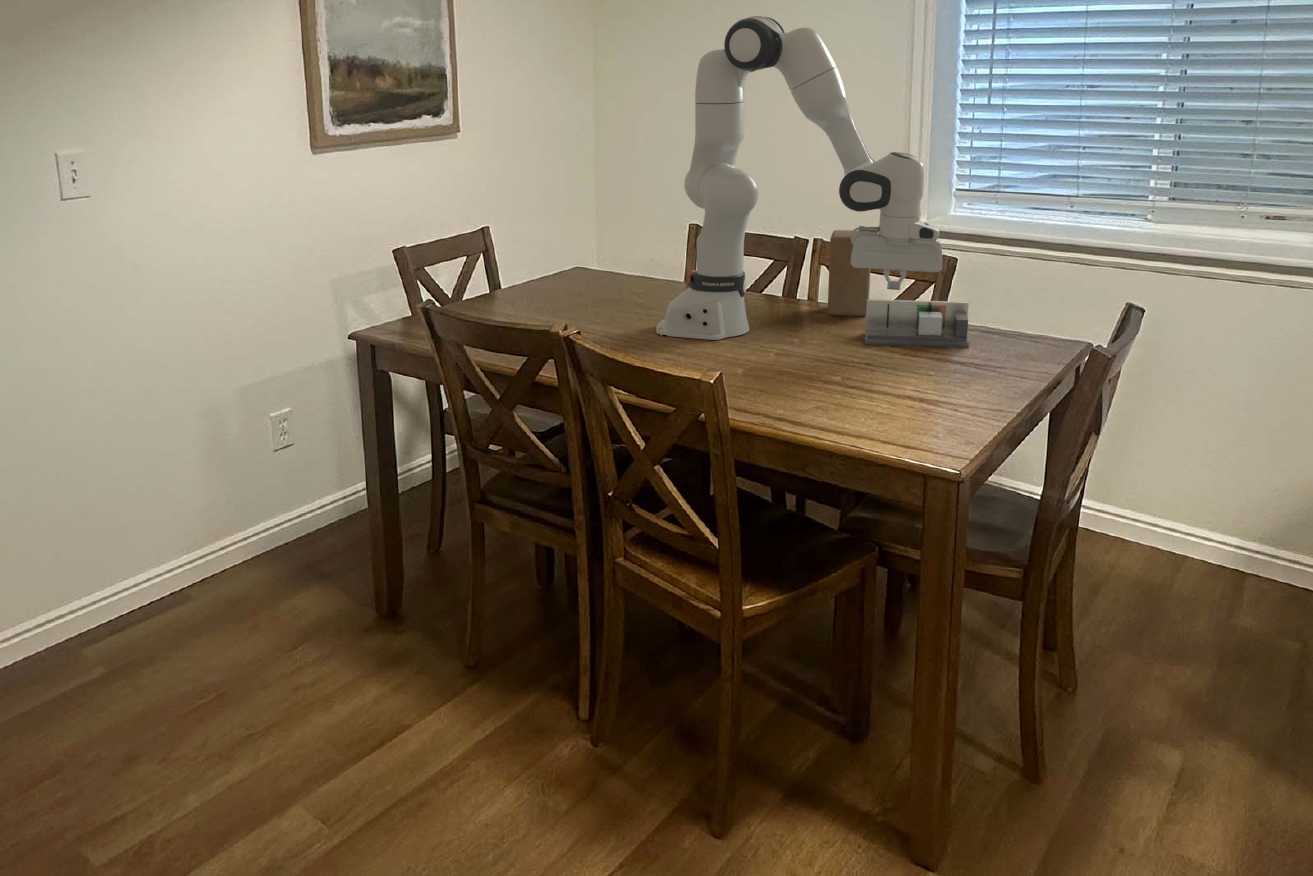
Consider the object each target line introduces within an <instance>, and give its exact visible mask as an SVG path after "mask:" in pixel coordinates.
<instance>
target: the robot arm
mask: <svg viewBox="0 0 1313 876" xmlns="http://www.w3.org/2000/svg"><path fill="white" fill-rule="evenodd" d="M723 45H724V48H723V49H715V50H711V51H707V53H705V54H704V55H703V56H702V57H701V58H700V59H699V62H698V67H697V72H696V81H695V92H694V93H695V94H694V95H695V96H694V97H695V98H694V99H695V100H694V101H695V103H694V105H695V106H694V107H695V110H694V112H695V114H694V115H695V119H694V121H695V122H694V123H695V126H694V127H695V129H694V131H695V135H694V144H693V145H694V146H693V151H692V156H691V157H692V158H691V162H690V166H689V170H688V172H687V174H686V175H685V178H684V181H683V182H684V185H683V186H684V190H685V194H686V195H687V197H688V199H689V200H691V202H692V203H693V204H694V205H695V206H696V207H698V208H700V209H703V210H704V218H703V223H702V227H701V230H700V233H699V235H698V236H697V238H696V270H695V269H692V270H690V272H689V273H688V275H687V276H688V277H687V278H688V279H687V283H688V288H686V289H685V290H684V291H682V292H681V293H679V295H677V296H676V297H675V298H674V299H672V300H671V301H670V302H669V304H668V305H667V307H666V311H665V316H664V319H662V320H660V321H659V322H658V323H657V325H656V326H655V332H656V334H657V335H658V334H660V335H659V336H662V335H667V336H666V337H676V338H687V339H698V340H709V341H710V340H711V341H712V340H713V341H719V340H722V339H725V338H730V337H731V338H732V337H737V336H741V335H744V334H747V333H748V332H750V330H751V329H750V325H749V322H748V317H747V312H746V303H745V294H746V287H747V286H746V283H747V282H746V272H745V270H744V251H745V250H744V248H745V235H746V231H747V226H748V223H749V218H750V216H751V215H750V214H751V212H752V210H753V209H754V208H755V206H756V204H757V203H758V199H759V191H758V189H759V188H758V186H757V184H756V182H755V181H754V179H753V178H752V177H751V176H750V175H748V174H747V173H746V172H745V171H744V170H742V169H739V168H736V160H737V156H738V150H739V147H740V145H741V143H742V141H744V137H745V85H746V84H745V83H746V79H747V76H748V75H749V73H753V72H756V71H760V70H763V69H767V68H768V69H769V68H775V69H777V70H778V71H779V72H780V74H781V75H782V76H783V78H784V80H785V82H786V84H787V87H788V89H789V91H790V94H791V96H792V97H793V99H794V102H795V104H796V105H797V106H798V109H799V110H800V111H801V112H802V114H803V115H804V117H805V118H806V119H807V120H809V121H810V122H812V123H814V124H815V125H817V127H819V128H820V129H821V130H822V131H824V133H825V134H826V136H827V137H828V139H829V140H830V143H831V144H832V147H833V148H834V151H835V153H836V155H837V157H838V159H839V162H840V164H841V166H842V168H843V171H844V176H843V178H842V179H841V181H840V183H839V187H838V188H839V189H838V193H839V197H840V200H841V203H842V204H843V205H844V206H845V207H846V208H848V209H849V210H850V211H854V212H858V213H859V212H861V213H863V212H867V211H874V210H879V211H880V212H879V213H880V214H879V223H878V226H864V225H860V226H858V227H856V228H854V229H853V231H852V233H851V243H852V245H853V250H852V255H851V265H852V266H853V267H854V268H868V269H874V270H883V276H884V278H885V281H886V282H887V286H886V290H892V291H900V290H901V284H902V282H903V281H904V280H905V279H906V277H907V273H908V271H909V272H911V271H912V272H925V273H939V272H940V271H941V270H942V268H943V248H942V247H943V246H942V243H941V241H940V239H939V237H940V233H941V232H940V228H938V227H937V226H936V225H934V224H932V223H931V224H930V223H928V222H925V221H923V220H921V216H922V215H921V214H922V213H921V201H922V198H923V197H924V195H923V194H924V181H925V171H924V170H925V169H924V164H923V162H922V161H921V159H920V158H919V157H917V156H916V155H913V154H909V153H906V152H899V151H892V152H889V153H888V154H887V155H886V156H884V157H882V158H880V159H877V160H875V159H873V158H872V156H871V155H870V154H869V153H868V151H867V147H866V146H865V144H864V142H863V140H862V137H861V135H860V133H859V131H858V128H856V124H855V123H854V121H853V117H852V115H851V111H850V110H851V109H850V106H849V102H848V97H847V92H846V89H845V88H846V87H845V85H844V83H843V79H842V76H841V74H840V71H839V68H838V67H837V64H836V62H835V60H834V58H833V56H832V54H831V53H830V51H829V49H828V47H827V45H826V43H824V41H823V39H822V38H821V37H820V35H819V34H818V32H817V31H815V29H813V28H810V27H799V28H796V29H793V30H791V31H789V32H785V30H784V28H783V27H782V25H781V24H780V23H779V22H778V21H776V20H775V19H774V18H772V17H767V16H762V15H756V16H755V15H754V16H750V17H747V18H743V19H742V18H741V19H740V20H738V21H736V22H734V24H733V25H732V26H731V27H730V28H729V29H728V31H727V33H726V35H725V39H724V44H723ZM856 230H858V231H856ZM891 271H899V275H900V277H899V278H898V280H892V279H891V278H890V273H891Z"/></svg>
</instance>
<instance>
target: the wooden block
mask: <svg viewBox="0 0 1313 876" xmlns="http://www.w3.org/2000/svg"><path fill="white" fill-rule="evenodd" d="M853 230H854V229H853ZM853 230H850V229H848V230H847V229H843V230H841V229H836V230H833V231H832V233H831V236H830V239H829V263H828V264H829V265H828V266H829V267H828V288H827V290H828V292H827V293H828V294H827V314H828V315H831V316H841V317H842V316H844V317H845V316H847V317H848V316H849V317H854V316H855V317H866V309H867V299H870V288H871V287H870V285H871V269H868V268H854V267H853V266H852V265H851V255H852V250H853V245H852V243H851V233H852V231H853ZM856 231H858V230H856Z"/></svg>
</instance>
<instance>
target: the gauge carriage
mask: <svg viewBox="0 0 1313 876" xmlns="http://www.w3.org/2000/svg"><path fill="white" fill-rule="evenodd" d="M931 307H932V304H929V310H928V312H919V319H918V336H939V337H941V331H942V313H941V312H931Z"/></svg>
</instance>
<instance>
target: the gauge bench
mask: <svg viewBox="0 0 1313 876" xmlns="http://www.w3.org/2000/svg"><path fill="white" fill-rule="evenodd" d="M929 304H932V307H931V312H941V313H942V331H941V337H939V336H918V319H919V312H928V310H929ZM969 305H970V303H969V301H950V300H949V301H947V300H946V301H945V300H944V301H943V300H908V299H907V300H905V299H904V300H902V299H870V298H869V299H867V309H866V316H865V334H864V338H865V339H864V345H873V346H874V345H875V346H876V345H879V346H905V347H906V346H907V347H909V346H910V347H935V348H937V347H939V348H940V347H943V348H967V349H968V348H969V347H970V341H969V338H968V329H969V318H968V316H969Z"/></svg>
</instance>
